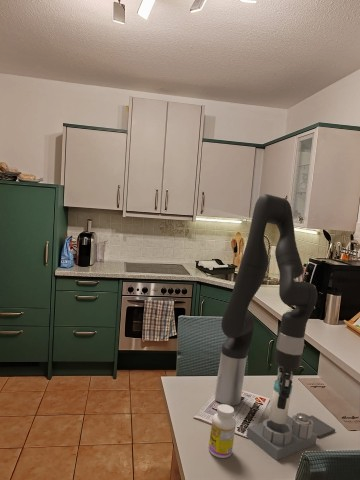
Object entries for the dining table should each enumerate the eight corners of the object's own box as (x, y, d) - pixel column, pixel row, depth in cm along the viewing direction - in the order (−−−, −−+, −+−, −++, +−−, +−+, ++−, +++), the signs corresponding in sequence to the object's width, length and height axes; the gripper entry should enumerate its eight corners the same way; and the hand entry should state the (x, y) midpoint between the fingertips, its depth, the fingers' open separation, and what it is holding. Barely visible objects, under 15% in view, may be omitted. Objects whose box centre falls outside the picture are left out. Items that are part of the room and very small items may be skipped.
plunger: (302, 437, 113) (304, 421, 112) (291, 429, 116) (293, 414, 116) (310, 434, 115) (313, 418, 115) (299, 427, 118) (302, 411, 118)
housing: (276, 460, 105) (280, 436, 105) (246, 436, 115) (249, 414, 115) (315, 444, 116) (319, 422, 115) (285, 423, 125) (288, 403, 125)
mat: (318, 438, 119) (318, 435, 119) (295, 423, 126) (295, 420, 126) (334, 431, 124) (335, 429, 124) (311, 417, 131) (312, 415, 131)
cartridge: (269, 421, 110) (275, 385, 109) (268, 412, 115) (274, 378, 114) (287, 425, 109) (293, 389, 108) (285, 416, 114) (291, 382, 113)
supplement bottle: (206, 443, 109) (212, 401, 108) (228, 444, 110) (234, 402, 109) (210, 458, 102) (216, 414, 101) (233, 460, 103) (240, 415, 102)
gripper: (305, 360, 102) (295, 419, 103) (299, 342, 116) (290, 395, 117) (277, 354, 103) (268, 413, 105) (274, 338, 117) (266, 389, 119)
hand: (280, 403), depth 111 cm, fingers closed on cartridge, 5 cm apart
